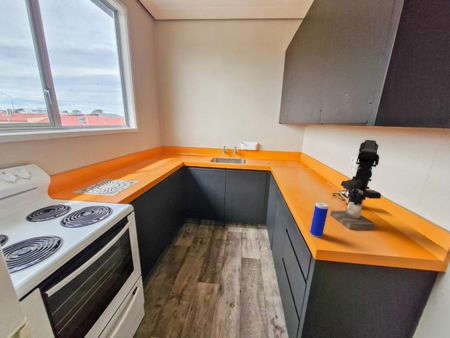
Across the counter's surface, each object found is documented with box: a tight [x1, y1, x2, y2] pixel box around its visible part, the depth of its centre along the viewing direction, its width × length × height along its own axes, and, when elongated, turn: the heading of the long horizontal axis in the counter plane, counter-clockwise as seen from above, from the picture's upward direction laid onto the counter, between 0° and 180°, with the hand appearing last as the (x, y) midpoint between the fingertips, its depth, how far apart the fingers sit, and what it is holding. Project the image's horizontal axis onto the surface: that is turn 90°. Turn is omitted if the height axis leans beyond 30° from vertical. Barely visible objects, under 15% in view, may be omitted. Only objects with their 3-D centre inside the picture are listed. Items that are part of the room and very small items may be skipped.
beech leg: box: [345, 202, 363, 220], centre depth 95 cm, size 6×6×10 cm
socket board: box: [330, 209, 377, 230], centre depth 96 cm, size 14×14×3 cm
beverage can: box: [309, 201, 329, 238], centre depth 81 cm, size 5×5×15 cm
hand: (355, 204), depth 94 cm, fingers closed
